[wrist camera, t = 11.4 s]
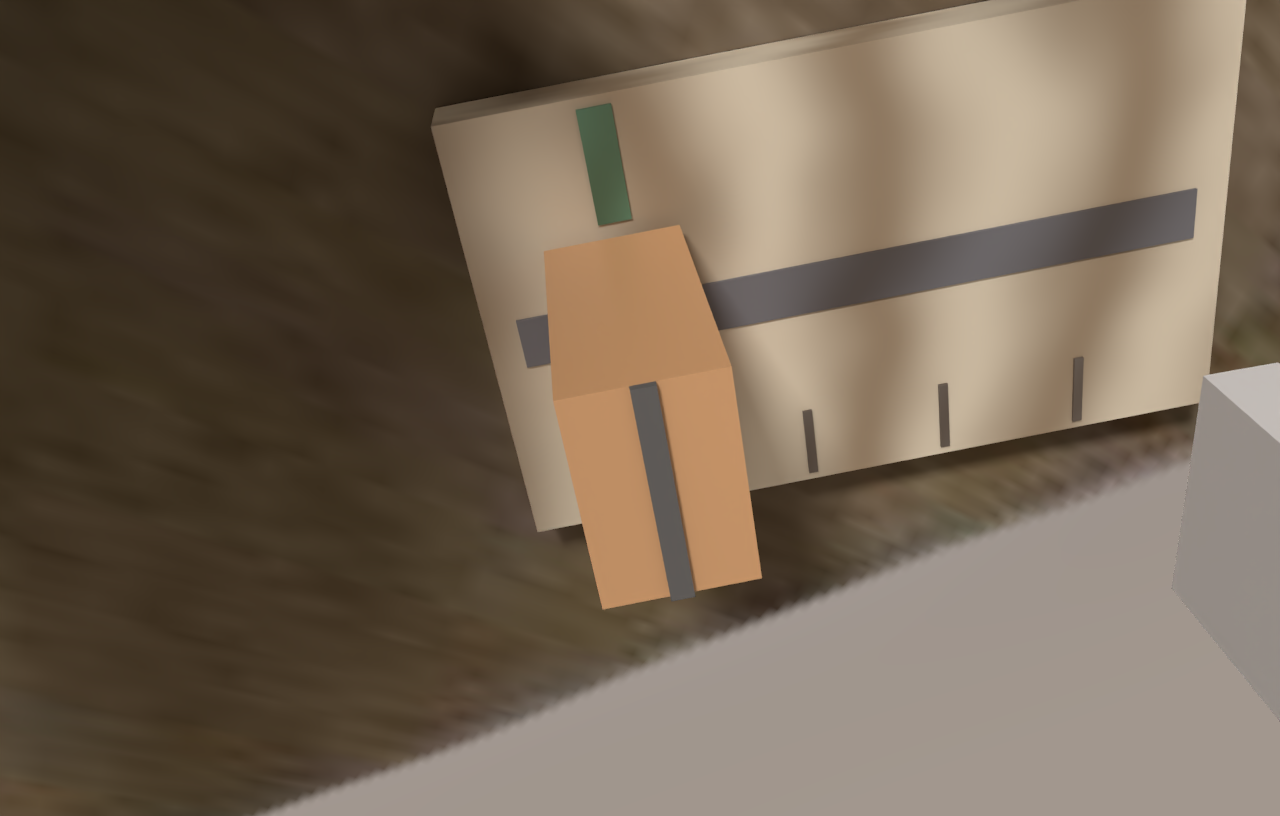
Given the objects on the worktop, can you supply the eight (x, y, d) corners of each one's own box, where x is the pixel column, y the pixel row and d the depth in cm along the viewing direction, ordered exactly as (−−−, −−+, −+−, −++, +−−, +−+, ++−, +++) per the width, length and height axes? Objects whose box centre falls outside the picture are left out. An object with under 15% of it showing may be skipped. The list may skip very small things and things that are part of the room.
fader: (583, 426, 36) (603, 614, 28) (543, 251, 33) (553, 405, 25) (707, 401, 36) (763, 583, 28) (679, 224, 33) (733, 370, 25)
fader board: (536, 499, 40) (537, 533, 38) (435, 108, 33) (430, 128, 31) (1176, 374, 40) (1208, 402, 38) (1210, -43, 33) (1251, -32, 31)
